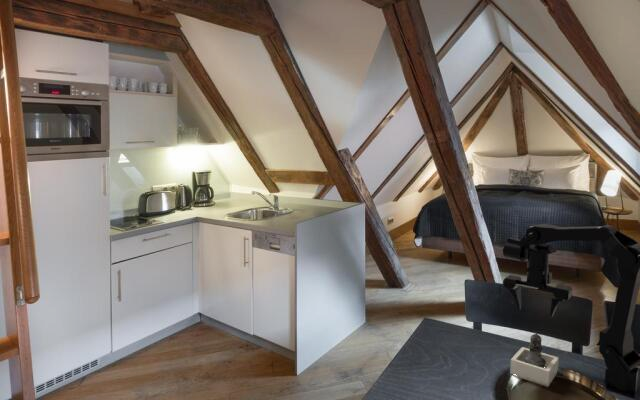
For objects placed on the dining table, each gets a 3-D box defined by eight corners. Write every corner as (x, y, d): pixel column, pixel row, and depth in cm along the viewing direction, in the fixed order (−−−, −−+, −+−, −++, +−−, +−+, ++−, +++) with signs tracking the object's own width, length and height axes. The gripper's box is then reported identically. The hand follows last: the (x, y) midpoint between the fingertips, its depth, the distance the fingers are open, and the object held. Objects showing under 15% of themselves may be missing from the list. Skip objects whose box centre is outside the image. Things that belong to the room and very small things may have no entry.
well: (557, 372, 124) (558, 357, 124) (548, 387, 117) (548, 371, 116) (521, 360, 131) (522, 346, 130) (510, 374, 124) (510, 359, 123)
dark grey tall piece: (519, 370, 124) (521, 331, 123) (528, 363, 128) (530, 325, 126) (539, 379, 120) (542, 338, 118) (549, 371, 123) (551, 332, 122)
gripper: (578, 264, 132) (575, 312, 134) (515, 254, 144) (512, 298, 146) (569, 273, 124) (566, 324, 126) (503, 261, 136) (501, 308, 138)
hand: (535, 313), depth 134 cm, fingers open, 9 cm apart
